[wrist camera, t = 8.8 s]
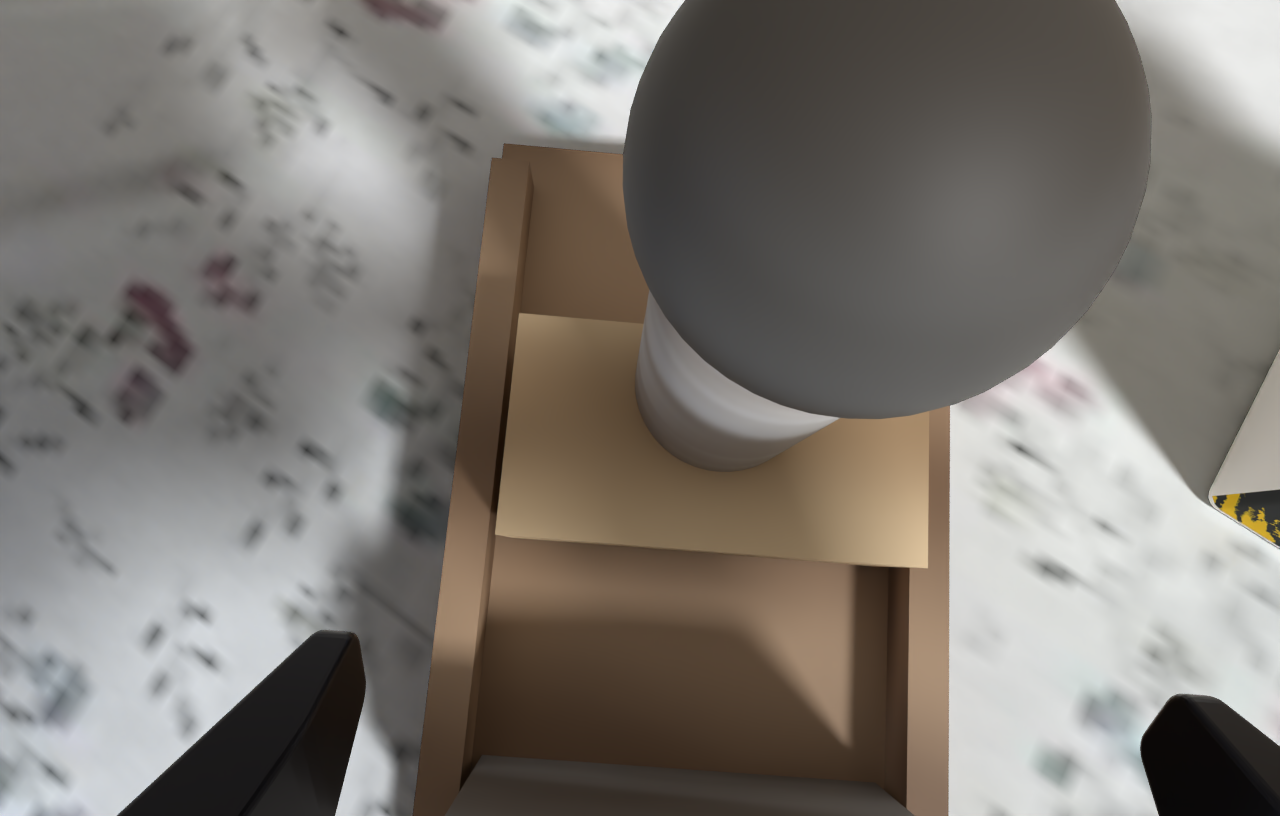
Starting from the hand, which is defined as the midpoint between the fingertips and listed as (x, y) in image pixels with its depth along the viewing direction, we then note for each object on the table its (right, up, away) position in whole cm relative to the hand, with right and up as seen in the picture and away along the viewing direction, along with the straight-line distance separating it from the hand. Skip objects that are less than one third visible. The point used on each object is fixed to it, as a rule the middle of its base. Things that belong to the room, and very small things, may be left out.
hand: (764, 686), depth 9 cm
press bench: (0, +2, +10) cm, 10 cm away
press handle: (0, +2, +8) cm, 9 cm away
